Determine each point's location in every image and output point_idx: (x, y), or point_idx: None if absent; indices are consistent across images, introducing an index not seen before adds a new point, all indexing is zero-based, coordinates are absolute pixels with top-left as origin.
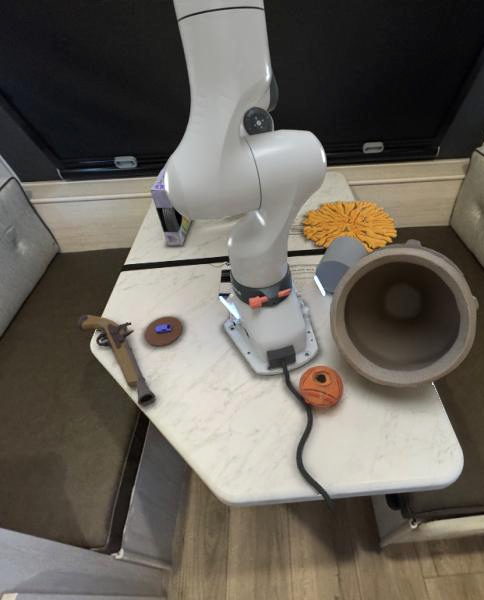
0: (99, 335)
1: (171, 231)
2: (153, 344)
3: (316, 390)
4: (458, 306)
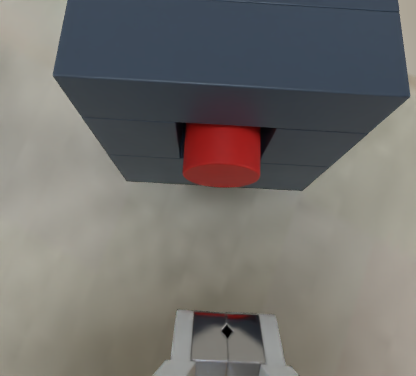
0: None
1: None
2: None
3: None
4: None
